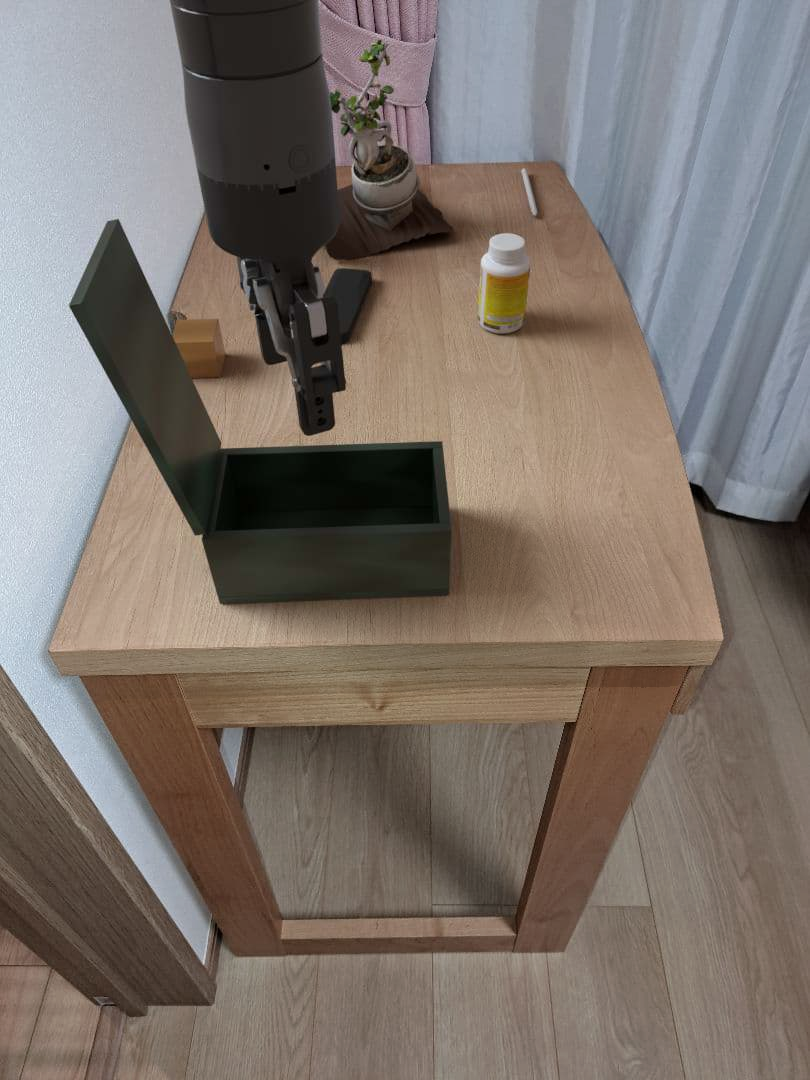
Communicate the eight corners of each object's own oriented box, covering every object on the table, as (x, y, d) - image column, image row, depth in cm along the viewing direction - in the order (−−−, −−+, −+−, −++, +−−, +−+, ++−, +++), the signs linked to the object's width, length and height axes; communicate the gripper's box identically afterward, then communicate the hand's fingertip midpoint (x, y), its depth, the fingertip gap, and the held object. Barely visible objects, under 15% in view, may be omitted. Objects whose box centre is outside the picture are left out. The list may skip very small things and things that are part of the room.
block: (220, 377, 91) (213, 341, 88) (179, 378, 91) (170, 343, 88) (225, 353, 94) (218, 318, 91) (185, 354, 94) (176, 319, 91)
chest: (440, 506, 77) (442, 440, 71) (449, 595, 69) (451, 530, 64) (233, 513, 76) (218, 448, 71) (219, 604, 69) (201, 539, 63)
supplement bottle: (532, 329, 97) (542, 247, 89) (490, 340, 95) (496, 257, 88) (510, 306, 100) (517, 225, 93) (469, 316, 99) (473, 235, 92)
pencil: (531, 215, 115) (520, 170, 126) (534, 220, 116) (522, 174, 126) (536, 211, 115) (525, 166, 125) (539, 216, 116) (527, 171, 126)
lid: (118, 218, 56) (106, 220, 56) (81, 303, 48) (68, 305, 48) (221, 443, 70) (212, 444, 70) (205, 534, 63) (194, 536, 63)
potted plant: (465, 252, 115) (442, 82, 93) (344, 310, 113) (291, 152, 92) (405, 173, 124) (371, 3, 102) (293, 226, 123) (234, 66, 101)
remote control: (347, 348, 95) (374, 278, 105) (346, 335, 94) (373, 266, 104) (306, 344, 96) (336, 275, 106) (305, 331, 95) (335, 263, 104)
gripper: (167, 115, 48) (217, 352, 60) (231, 218, 39) (275, 473, 51) (290, 95, 50) (315, 328, 62) (378, 188, 41) (388, 440, 53)
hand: (297, 393), depth 56 cm, fingers open, 8 cm apart
